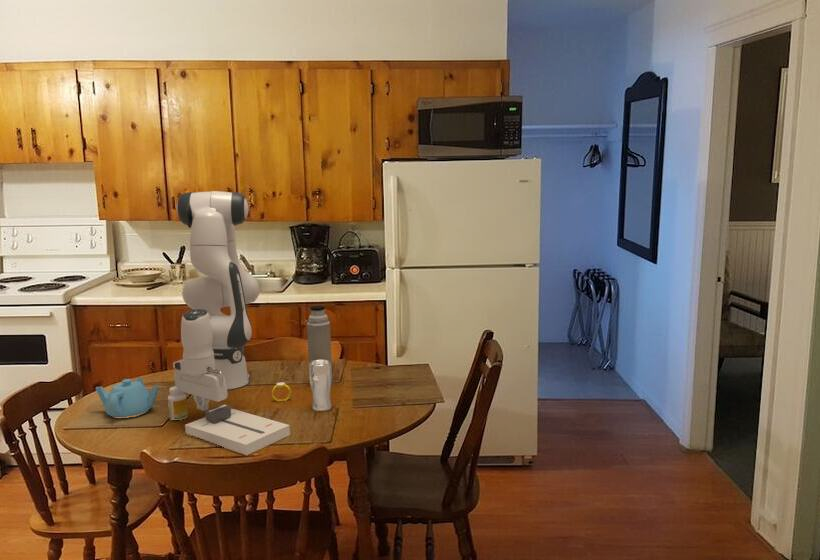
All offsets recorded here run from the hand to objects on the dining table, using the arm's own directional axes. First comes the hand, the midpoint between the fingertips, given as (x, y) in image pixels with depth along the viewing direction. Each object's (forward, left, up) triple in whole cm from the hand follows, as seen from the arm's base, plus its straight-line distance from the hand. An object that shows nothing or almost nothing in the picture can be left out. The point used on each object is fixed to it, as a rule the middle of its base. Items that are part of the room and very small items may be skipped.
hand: (202, 409), depth 199 cm
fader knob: (+7, 0, -1) cm, 7 cm away
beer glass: (+21, +29, -5) cm, 36 cm away
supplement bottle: (-11, -1, -5) cm, 12 cm away
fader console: (+15, 0, -5) cm, 16 cm away
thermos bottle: (+5, +46, -5) cm, 47 cm away
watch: (+5, +27, -5) cm, 28 cm away
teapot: (-29, -6, -5) cm, 30 cm away
